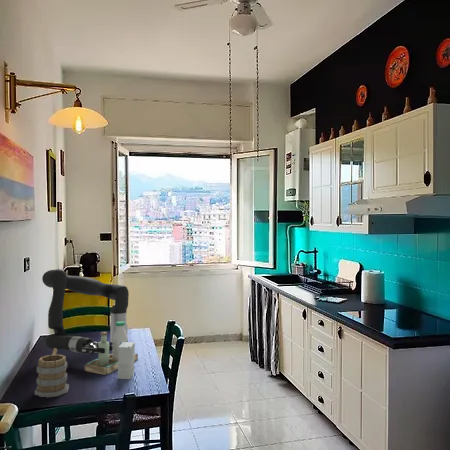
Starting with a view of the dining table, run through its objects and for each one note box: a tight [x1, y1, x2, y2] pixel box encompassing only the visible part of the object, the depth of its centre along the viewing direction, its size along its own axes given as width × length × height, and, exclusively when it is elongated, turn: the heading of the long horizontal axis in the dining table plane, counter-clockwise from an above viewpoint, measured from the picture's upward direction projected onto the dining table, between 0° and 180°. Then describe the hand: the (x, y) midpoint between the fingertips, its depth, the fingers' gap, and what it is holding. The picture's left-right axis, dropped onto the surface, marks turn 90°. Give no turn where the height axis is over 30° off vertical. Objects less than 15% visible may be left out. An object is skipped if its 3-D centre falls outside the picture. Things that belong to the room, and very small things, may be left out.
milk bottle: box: [111, 321, 129, 359], centre depth 227 cm, size 8×8×20 cm
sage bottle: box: [97, 331, 110, 367], centre depth 215 cm, size 5×5×17 cm
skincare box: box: [117, 341, 136, 380], centre depth 205 cm, size 8×6×15 cm
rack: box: [84, 353, 139, 376], centre depth 221 cm, size 25×12×3 cm, turn 156°
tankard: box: [34, 348, 70, 398], centre depth 190 cm, size 20×13×15 cm, turn 12°
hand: (108, 349), depth 214 cm, fingers closed on sage bottle, 5 cm apart
